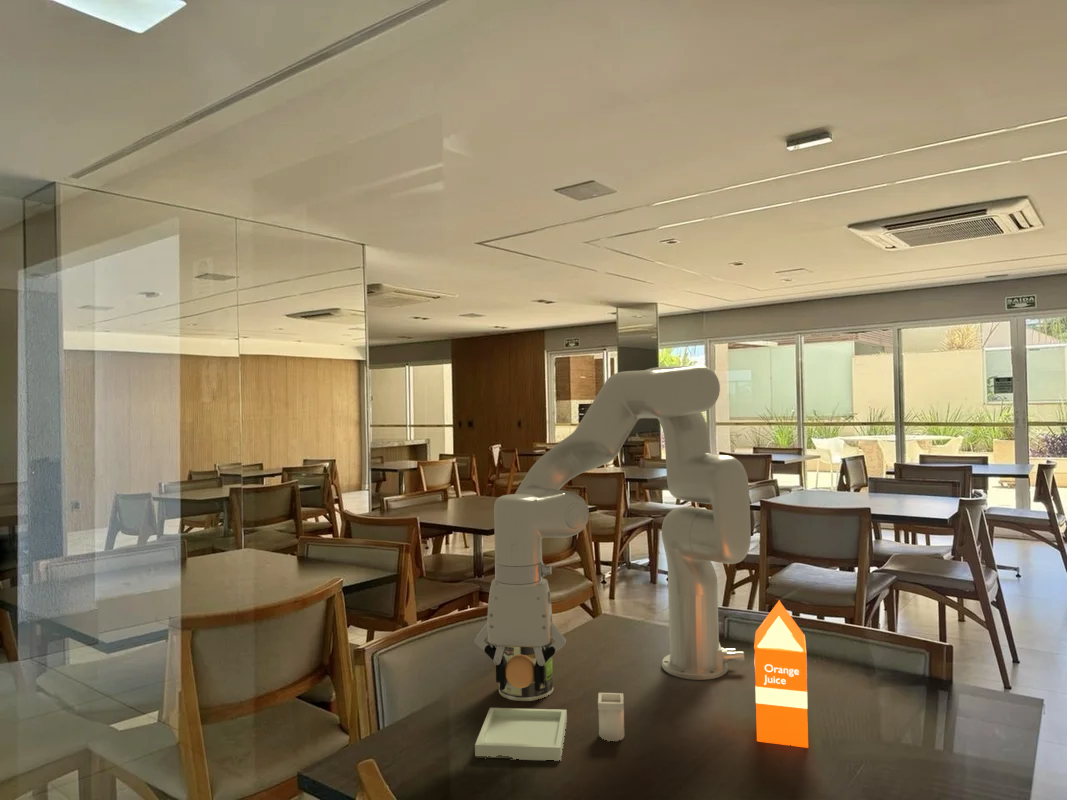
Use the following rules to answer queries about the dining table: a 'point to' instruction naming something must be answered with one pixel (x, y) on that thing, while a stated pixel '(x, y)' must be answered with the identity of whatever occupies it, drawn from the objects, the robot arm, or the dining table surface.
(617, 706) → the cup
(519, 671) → the ball
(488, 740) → the tray
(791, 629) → the orange juice
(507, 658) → the coffee can
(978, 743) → the dining table surface
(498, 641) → the robot arm
